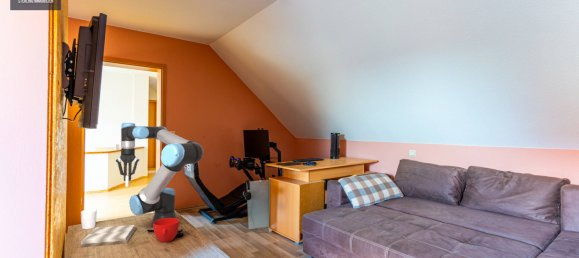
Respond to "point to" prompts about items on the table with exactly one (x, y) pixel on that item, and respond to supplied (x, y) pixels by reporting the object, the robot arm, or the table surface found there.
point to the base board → (106, 238)
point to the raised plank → (113, 229)
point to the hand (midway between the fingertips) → (127, 186)
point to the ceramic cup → (166, 229)
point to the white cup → (88, 218)
